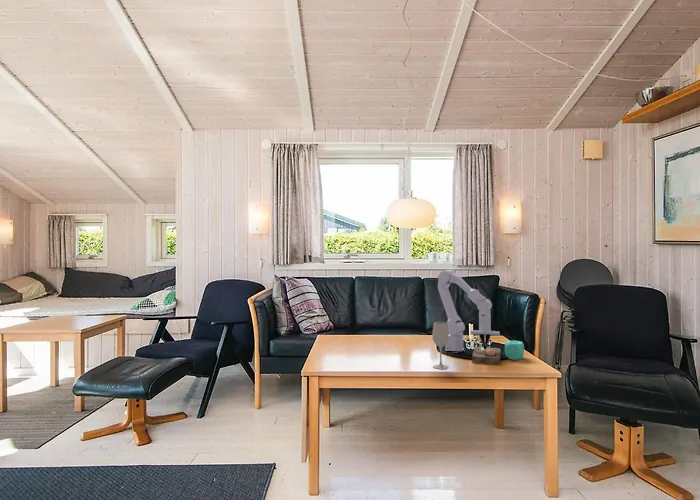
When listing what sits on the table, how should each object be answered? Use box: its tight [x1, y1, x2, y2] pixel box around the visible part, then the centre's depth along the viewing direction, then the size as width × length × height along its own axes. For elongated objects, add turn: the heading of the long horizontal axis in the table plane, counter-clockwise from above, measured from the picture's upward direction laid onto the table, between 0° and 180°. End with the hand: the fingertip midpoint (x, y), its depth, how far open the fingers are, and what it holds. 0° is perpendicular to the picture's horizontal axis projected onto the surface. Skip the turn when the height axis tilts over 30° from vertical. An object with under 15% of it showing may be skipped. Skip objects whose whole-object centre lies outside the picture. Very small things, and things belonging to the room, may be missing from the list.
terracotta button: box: [486, 349, 495, 356], centre depth 222 cm, size 4×4×3 cm
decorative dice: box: [504, 340, 525, 361], centre depth 227 cm, size 8×8×8 cm
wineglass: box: [431, 321, 450, 370], centre depth 212 cm, size 8×8×21 cm
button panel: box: [471, 346, 501, 365], centre depth 227 cm, size 13×21×3 cm, turn 161°
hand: (485, 348), depth 233 cm, fingers closed, pressing on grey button
